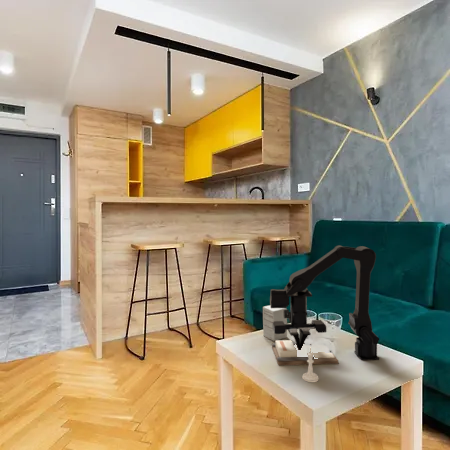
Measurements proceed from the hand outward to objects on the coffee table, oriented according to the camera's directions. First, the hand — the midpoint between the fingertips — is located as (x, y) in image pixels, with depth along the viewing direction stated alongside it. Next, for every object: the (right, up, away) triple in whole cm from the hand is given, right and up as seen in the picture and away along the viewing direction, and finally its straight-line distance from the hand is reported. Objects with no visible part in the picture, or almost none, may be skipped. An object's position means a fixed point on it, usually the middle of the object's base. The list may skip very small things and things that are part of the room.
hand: (299, 349), depth 122 cm
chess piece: (0, -3, -16) cm, 16 cm away
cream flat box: (-5, -1, 0) cm, 5 cm away
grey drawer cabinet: (-6, -2, +18) cm, 19 cm away
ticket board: (+2, -2, 0) cm, 3 cm away
